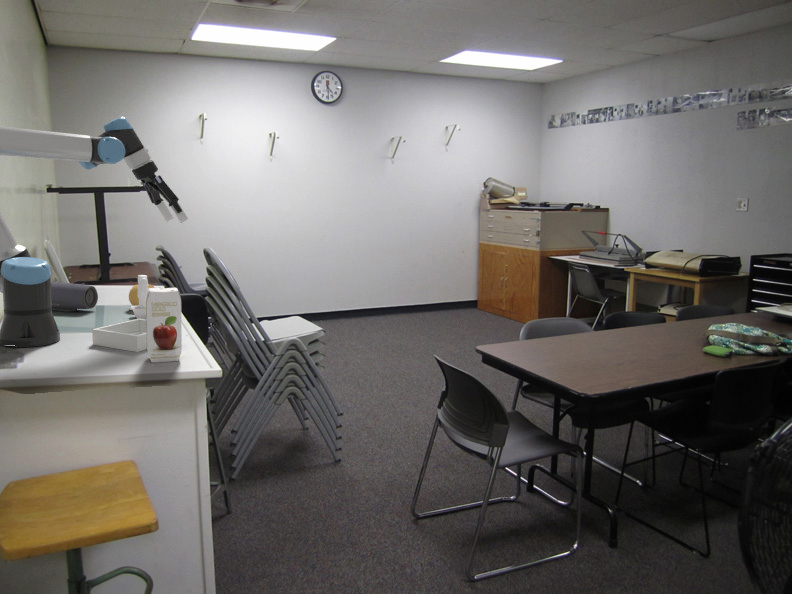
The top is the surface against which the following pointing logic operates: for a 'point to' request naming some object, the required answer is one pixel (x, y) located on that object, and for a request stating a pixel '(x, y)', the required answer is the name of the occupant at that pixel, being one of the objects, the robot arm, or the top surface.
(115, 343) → the walled box
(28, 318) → the robot arm
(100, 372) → the top surface
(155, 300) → the juice carton
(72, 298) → the bluetooth speaker
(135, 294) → the stress ball
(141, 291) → the figurine
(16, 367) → the top surface
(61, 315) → the top surface
